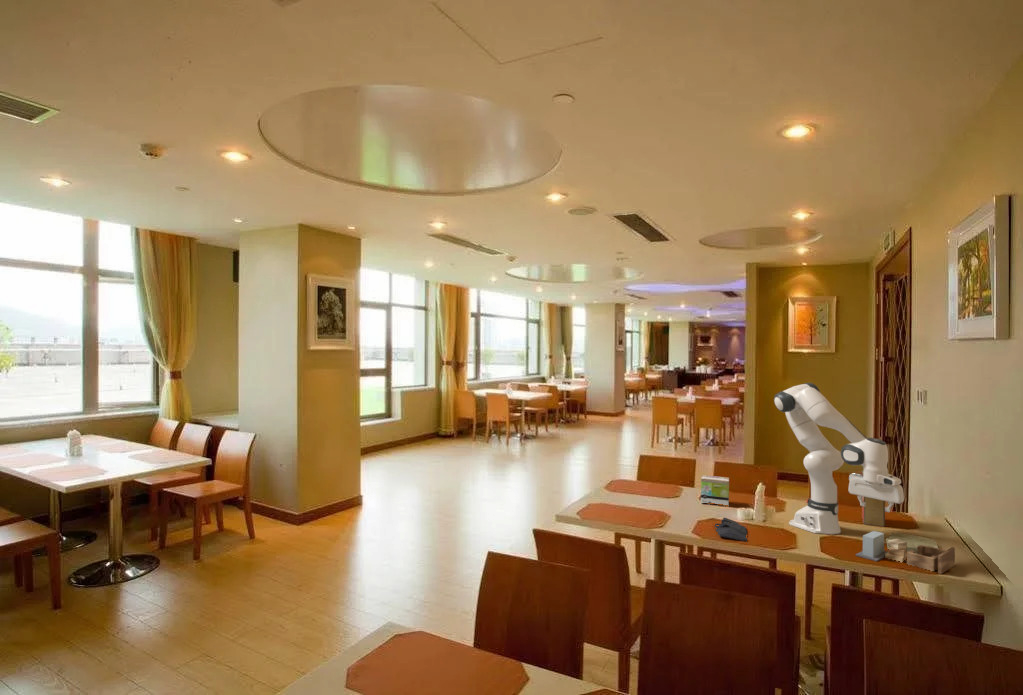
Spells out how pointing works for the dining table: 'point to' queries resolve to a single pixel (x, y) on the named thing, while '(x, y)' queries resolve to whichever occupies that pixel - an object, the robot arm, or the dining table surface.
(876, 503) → the food packaging
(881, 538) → the light blue rectangular block
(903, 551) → the offcut middle
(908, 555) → the rack
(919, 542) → the decorative tile
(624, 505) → the dining table surface
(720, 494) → the tea box
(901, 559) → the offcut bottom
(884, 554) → the mat
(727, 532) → the dark slate chunk
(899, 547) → the offcut top
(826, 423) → the robot arm
